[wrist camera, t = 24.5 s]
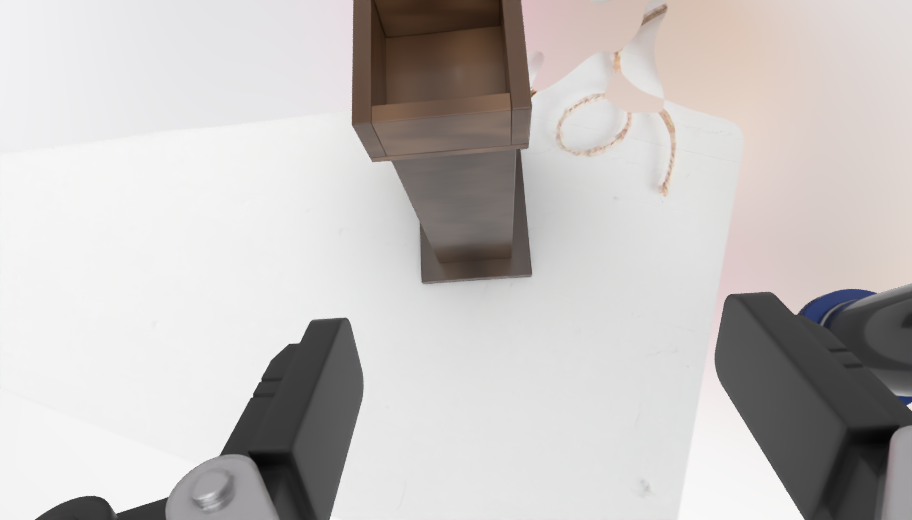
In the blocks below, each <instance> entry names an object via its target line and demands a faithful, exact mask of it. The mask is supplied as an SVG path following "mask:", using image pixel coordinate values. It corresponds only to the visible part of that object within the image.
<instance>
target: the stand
mask: <svg viewBox="0 0 912 520" xmlns="http://www.w3.org/2000/svg"><path fill="white" fill-rule="evenodd" d="M392 163H393V165H394V167H395V169H396V171H397V173H398V176H399V178H400V180H401V182H402V184H403V186H404V188H405V191H406V193H407V195H408V197H409V199H410V201H411V203H412V206H413V208H414V210H415V212H416V214H417V216H418V218H419V221H420V239H421V275H422V283H423V284H427V283H442V282H457V281H471V280H486V279H501V278H515V277H530V276H531V275H532V271H531V260H530V249H529V238H528V228H527V217H526V206H525V195H524V184H523V173H522V163H521V152H520V149H517V150H505V151H494V152H483V153H471V154H460V155H449V156H437V157H426V158H414V159H403V160H392Z"/></svg>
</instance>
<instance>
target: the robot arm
mask: <svg viewBox="0 0 912 520" xmlns="http://www.w3.org/2000/svg"><path fill="white" fill-rule="evenodd" d="M715 367H716V372H717V375H718V378H719V380H720V382H721V384H722V386H723V387H724V389H725V391H726V392H727V394H728V396H729V397H730V399H731V401H732V402H733V404H734V405H735V407H736V409H737V410H738V412H739V413H740V415H741V417H742V418H743V420H744V421H745V423H746V425H747V427H748V428H749V430H750V432H751V433H752V435H753V436H754V438H755V440H756V441H757V443H758V444H759V446H760V447H761V449H762V451H763V453H764V454H765V456H766V457H767V459H768V461H769V462H770V464H771V466H772V467H773V469H774V470H775V472H776V474H777V475H778V477H779V479H780V480H781V482H782V483H783V485H784V487H785V488H786V490H787V492H788V493H789V495H790V497H791V498H792V500H793V501H794V503H795V505H796V506H797V508H798V510H799V511H800V513H801V514H802V516H803V518H804V519H805V520H912V411H911V410H910V409H909V408H908V407H907V406H906V405H905V404H904V403H903V402H902V401H901V400H900V399H899V398H898V397H897V396H912V284H908V285H905V286H901V287H898V288H895V289H891V290H888V291H885V292H881V293H878V294H875V295H871V296H868V297H864V298H861V299H857V300H851V301H847V302H844V303H840V304H838V305H835V306H833V307H832V308H830V309H829V310H827V311H826V312H825V313H824V314H823V315H822V316H821V318H820V319H819V321H818V323H816V322H814V321H812V320H811V319H809V318H807V317H805V316H803V315H794V314H793V313H792V312H791V311H790V310H789V309H788V308H787V307H786V306H785V305H784V304H783V303H782V302H781V301H780V300H779V298H777V296H776V295H774V294H773V293H771V292H759V293H744V294H730V295H729V296H728V297H727V298H726V300H725V303H724V308H723V313H722V318H721V323H720V328H719V334H718V339H717V344H716V350H715ZM261 379H262V381H261V382H259V384H258V386H257V388H256V390H255V391H254V393H253V398H251V399H250V401H249V402H248V404H247V406H246V408H245V410H244V412H243V414H242V415H241V417H240V419H239V421H238V423H237V425H236V426H235V428H234V430H233V432H232V434H231V436H230V438H229V439H228V441H227V443H226V445H225V447H224V449H223V450H222V452H221V454H220V456H219V457H216V458H213V459H210V460H208V461H206V462H204V463H202V464H200V465H199V466H197V467H195V468H194V469H193V470H191V471H190V472H189V473H188V474H186V475H185V476H184V477H183V478H182V480H180V481H179V482H178V483H177V485H176V486H175V488H174V489H173V490H172V492H171V494H170V496H169V497H167V498H165V499H162V500H159V501H155V502H152V503H149V504H146V505H142V506H139V507H136V508H133V509H130V510H127V511H123V512H121V513H117V514H115V512H114V511H113V509H112V508H111V506H110V505H109V503H108V502H107V501H106V500H105V499H103V498H101V497H96V496H85V497H79V498H75V499H72V500H69V501H67V502H64V503H62V504H60V505H58V506H56V507H54V508H52V509H50V510H49V511H47V512H46V513H44V514H42V515H41V516H40V517H38V518H37V519H35V520H329V519H330V516H331V512H332V508H333V505H334V501H335V497H336V494H337V490H338V486H339V483H340V479H341V475H342V472H343V468H344V464H345V461H346V457H347V453H348V450H349V446H350V442H351V439H352V435H353V431H354V428H355V424H356V420H357V417H358V413H359V409H360V405H361V402H362V397H363V373H362V368H361V364H360V360H359V356H358V352H357V348H356V344H355V340H354V336H353V332H352V328H351V324H350V322H349V320H348V319H347V318H334V319H318V320H312V321H311V322H310V324H309V325H308V328H307V330H306V332H305V334H304V336H303V338H302V340H301V342H300V343H299V344H289V345H288V346H286V347H285V348H284V349H283V350H282V351H281V352H280V353H279V354H278V355H277V356H276V357H274V358H273V359H272V360H271V362H270V364H269V366H268V367H267V369H266V371H265V373H264V375H263V377H262V378H261Z"/></svg>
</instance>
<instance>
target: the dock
mask: <svg viewBox="0 0 912 520" xmlns="http://www.w3.org/2000/svg"><path fill="white" fill-rule="evenodd" d="M353 6H354V7H353V76H352V126H353V128H354V129H355V131H356V133H357V135H358V137H359V139H360V140H361V142H362V144H363V146H364V148H365V150H366V151H367V153H368V155H369V157H370V158H371V160H372V162H380V161H392V160H403V159H414V158H426V157H437V156H449V155H460V154H471V153H483V152H494V151H505V150H517V149H527V148H528V147H529V135H530V124H531V112H532V103H531V93H530V83H529V73H528V64H527V54H526V44H525V35H524V25H523V15H522V6H521V0H354V4H353Z"/></svg>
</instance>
